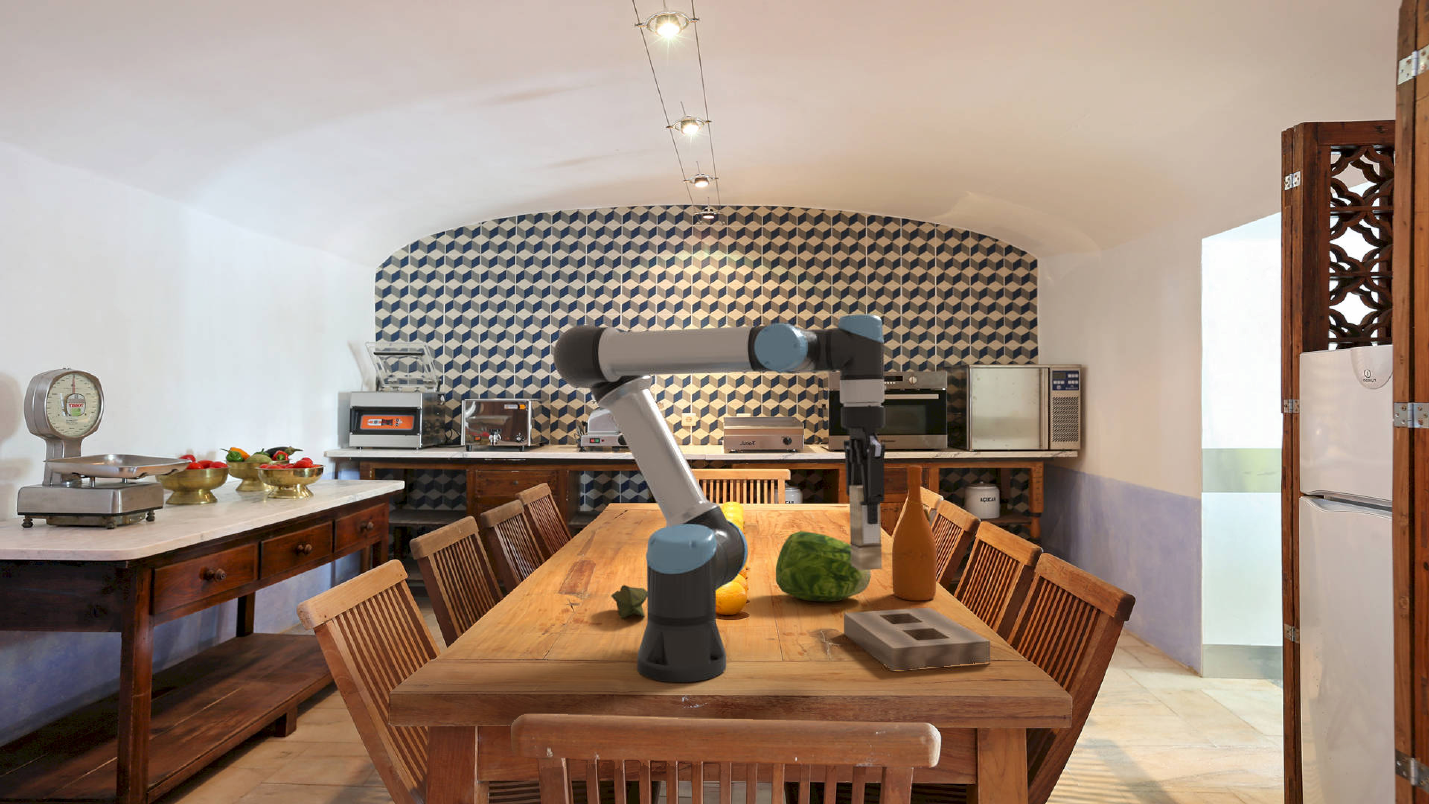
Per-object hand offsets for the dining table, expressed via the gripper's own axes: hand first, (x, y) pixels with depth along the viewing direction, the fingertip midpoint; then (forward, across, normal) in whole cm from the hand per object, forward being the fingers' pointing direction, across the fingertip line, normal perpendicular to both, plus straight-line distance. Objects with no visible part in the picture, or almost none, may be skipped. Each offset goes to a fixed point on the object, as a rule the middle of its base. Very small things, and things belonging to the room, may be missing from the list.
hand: (865, 540), depth 142 cm
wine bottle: (+22, +40, -27) cm, 53 cm away
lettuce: (+21, +42, -6) cm, 47 cm away
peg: (+5, 0, 0) cm, 5 cm away
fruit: (+20, +37, +38) cm, 57 cm away
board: (+21, +6, -11) cm, 25 cm away
